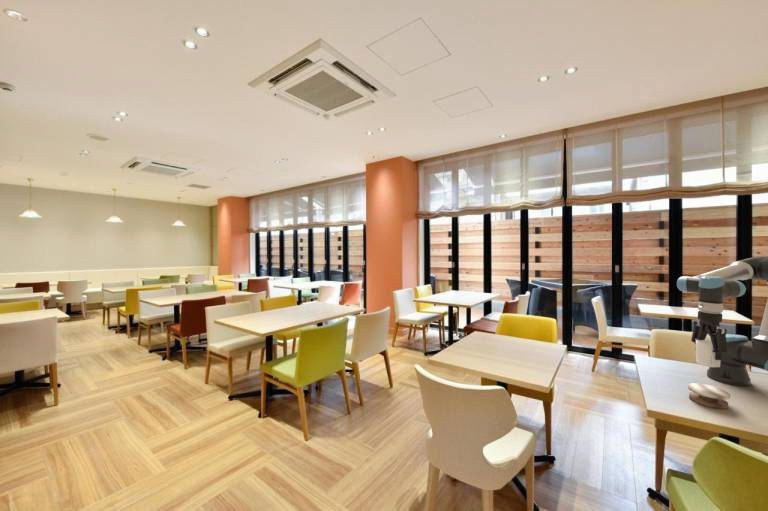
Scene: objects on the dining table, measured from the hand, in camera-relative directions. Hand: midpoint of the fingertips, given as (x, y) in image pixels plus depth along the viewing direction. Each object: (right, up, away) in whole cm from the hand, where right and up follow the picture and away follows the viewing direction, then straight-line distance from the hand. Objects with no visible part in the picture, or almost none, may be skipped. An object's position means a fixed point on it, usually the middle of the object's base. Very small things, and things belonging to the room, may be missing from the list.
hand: (707, 362), depth 139 cm
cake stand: (0, -17, 0) cm, 17 cm away
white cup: (0, -1, 0) cm, 1 cm away
